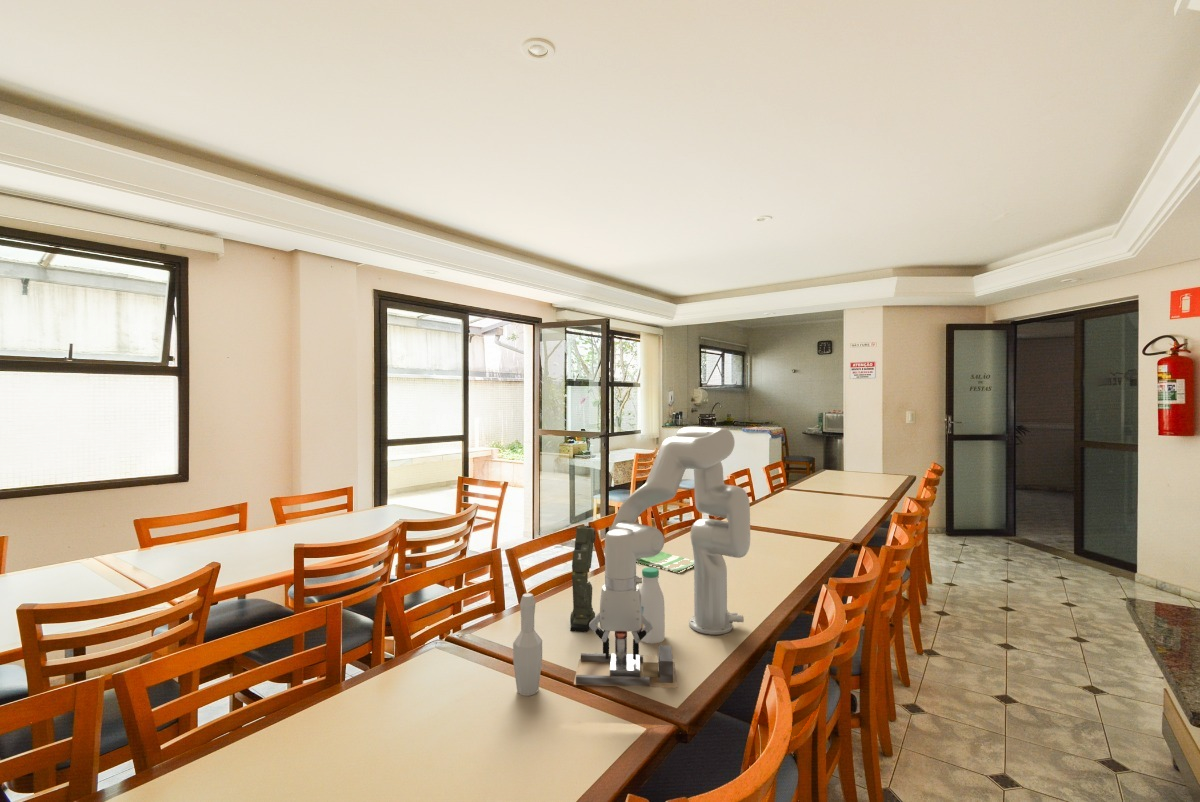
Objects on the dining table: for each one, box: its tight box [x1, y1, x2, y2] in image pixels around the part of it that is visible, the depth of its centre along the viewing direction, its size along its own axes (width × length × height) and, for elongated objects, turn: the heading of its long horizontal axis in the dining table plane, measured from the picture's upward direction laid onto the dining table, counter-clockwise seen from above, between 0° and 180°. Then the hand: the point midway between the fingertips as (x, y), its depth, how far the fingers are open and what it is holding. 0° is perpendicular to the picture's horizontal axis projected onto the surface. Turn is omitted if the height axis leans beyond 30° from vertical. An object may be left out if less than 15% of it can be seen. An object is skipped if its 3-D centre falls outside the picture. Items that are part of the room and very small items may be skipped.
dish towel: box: [636, 550, 694, 573], centre depth 218 cm, size 18×23×3 cm
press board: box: [573, 644, 679, 689], centre depth 127 cm, size 24×12×6 cm, turn 86°
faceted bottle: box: [512, 592, 543, 697], centre depth 122 cm, size 6×6×22 cm
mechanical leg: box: [569, 525, 597, 633], centre depth 160 cm, size 14×7×30 cm, turn 168°
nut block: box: [642, 654, 659, 677], centre depth 127 cm, size 4×4×4 cm
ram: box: [610, 631, 641, 677], centre depth 127 cm, size 7×8×10 cm
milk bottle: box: [638, 566, 666, 644], centre depth 147 cm, size 8×8×20 cm
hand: (620, 656), depth 127 cm, fingers open, 6 cm apart
